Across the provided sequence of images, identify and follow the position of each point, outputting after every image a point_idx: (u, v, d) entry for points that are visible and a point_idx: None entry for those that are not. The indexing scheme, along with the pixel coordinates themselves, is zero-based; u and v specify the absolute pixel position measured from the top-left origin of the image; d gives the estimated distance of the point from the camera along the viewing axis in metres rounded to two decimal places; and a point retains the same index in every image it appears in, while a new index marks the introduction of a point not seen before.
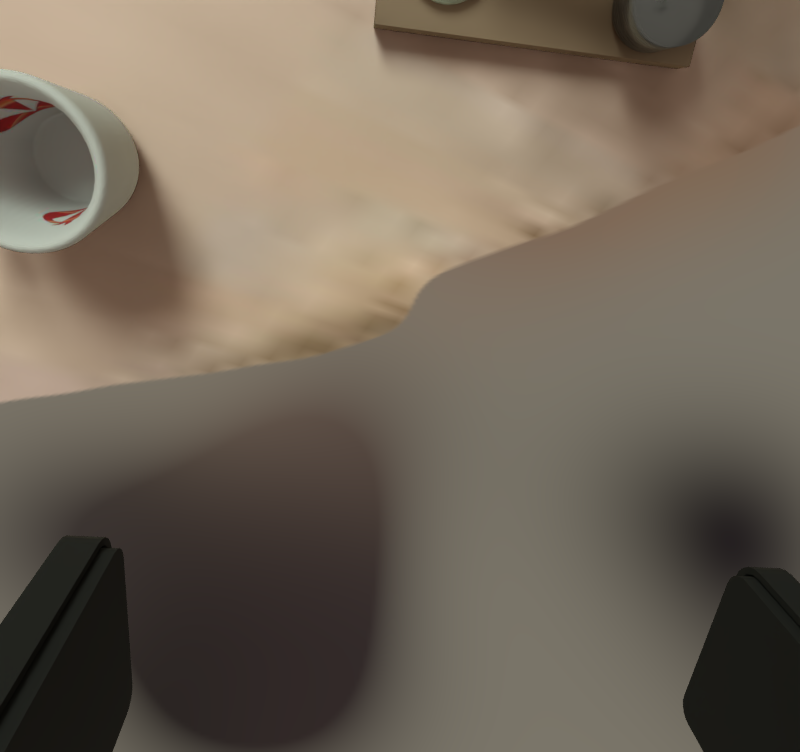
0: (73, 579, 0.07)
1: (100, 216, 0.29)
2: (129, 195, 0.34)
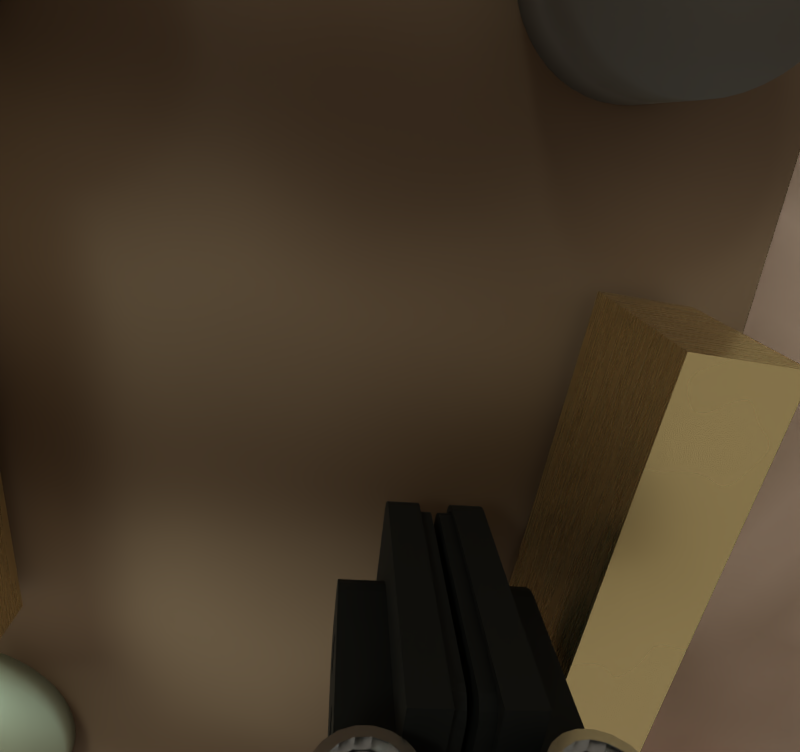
0: (420, 534, 0.09)
1: None
2: None
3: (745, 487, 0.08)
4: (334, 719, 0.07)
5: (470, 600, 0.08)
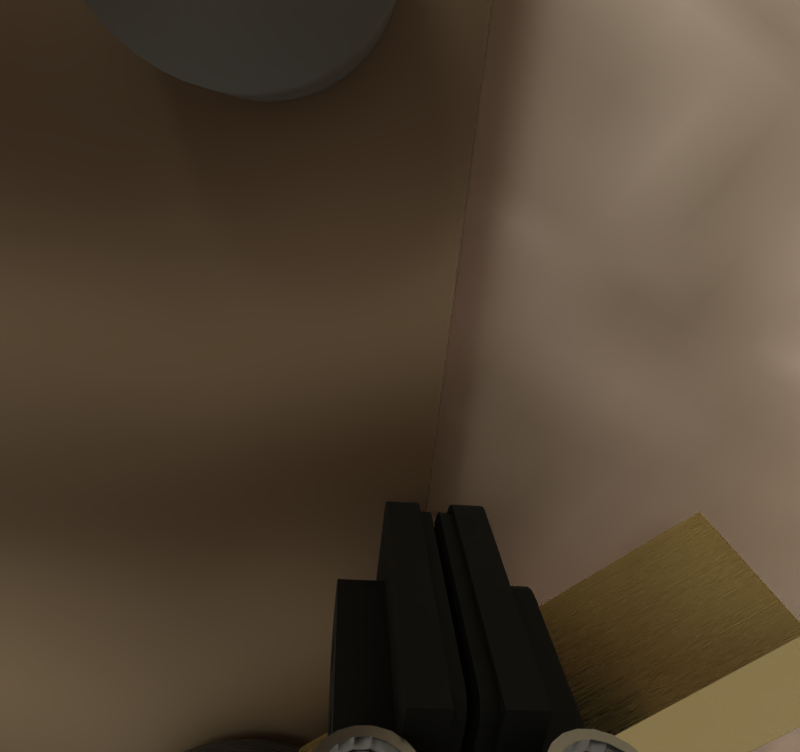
0: (420, 534, 0.09)
1: None
2: None
3: (740, 746, 0.09)
4: (334, 719, 0.07)
5: (471, 600, 0.08)
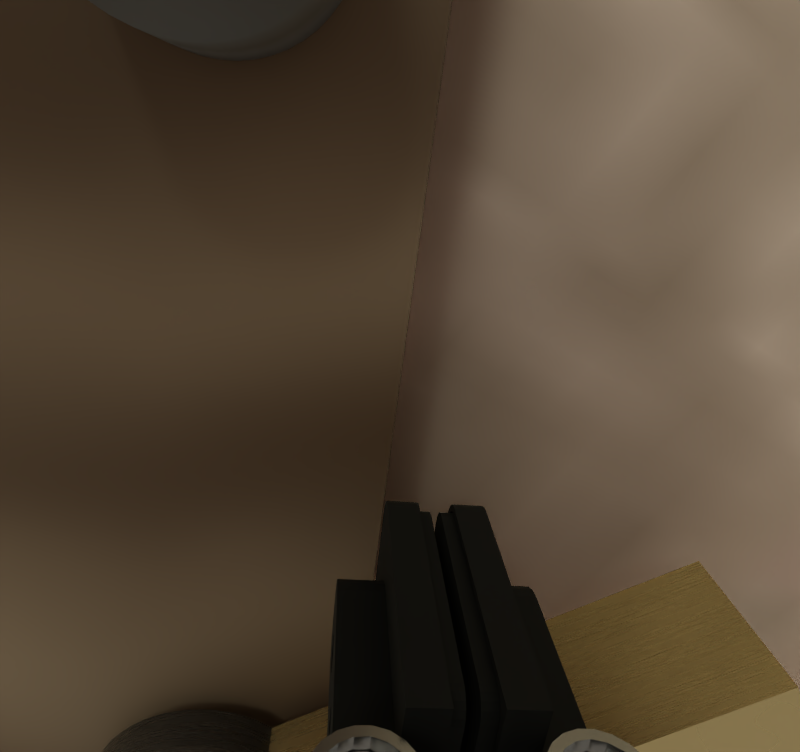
0: (419, 533, 0.09)
1: None
2: None
3: None
4: (333, 719, 0.07)
5: (472, 599, 0.08)
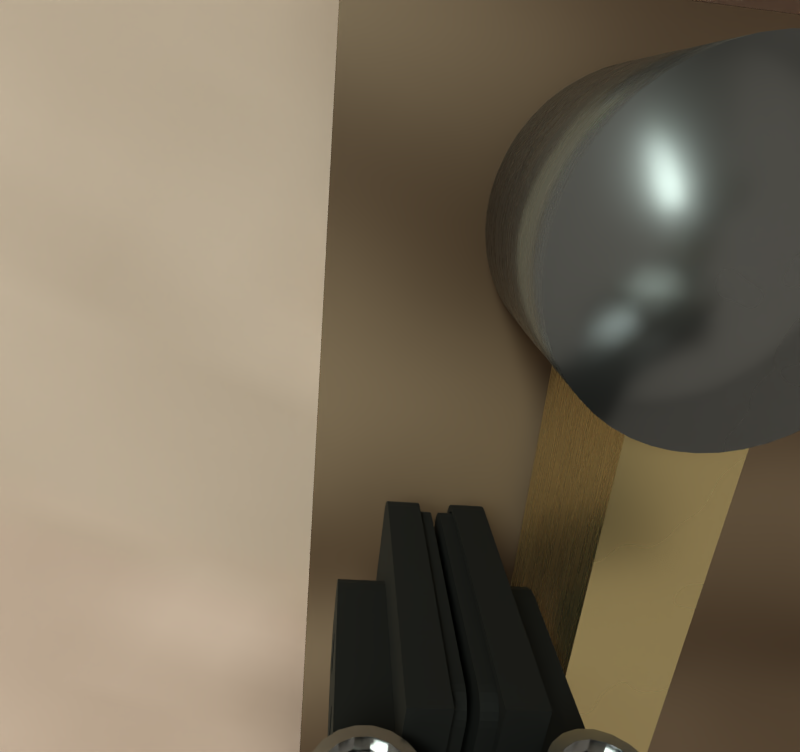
0: (420, 534, 0.09)
1: None
2: None
3: None
4: (334, 719, 0.07)
5: (471, 600, 0.08)
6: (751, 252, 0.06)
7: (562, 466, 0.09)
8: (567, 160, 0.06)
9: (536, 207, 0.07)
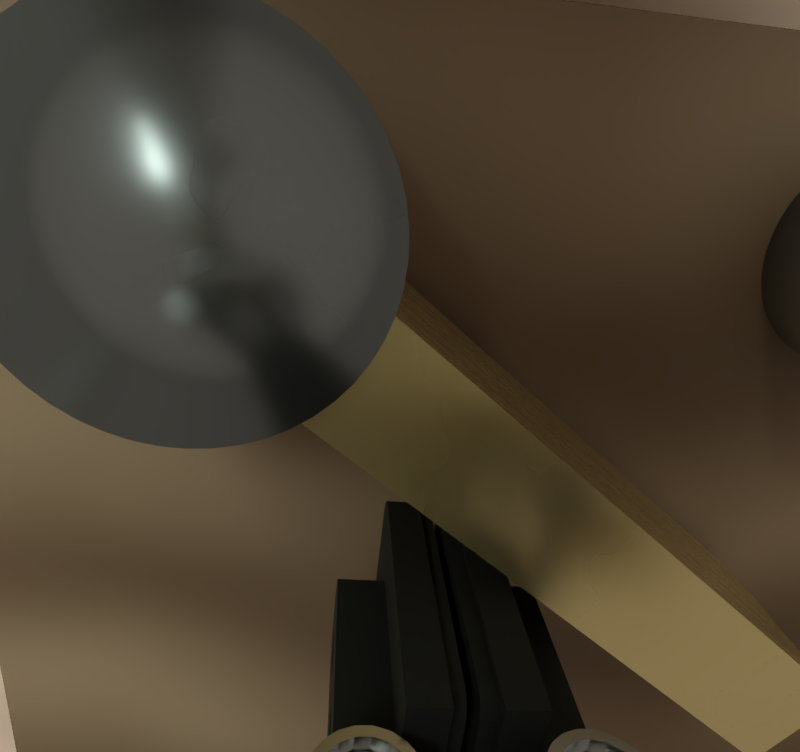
0: (420, 534, 0.09)
1: None
2: None
3: None
4: (334, 719, 0.07)
5: (471, 600, 0.08)
6: (158, 234, 0.06)
7: None
8: None
9: None
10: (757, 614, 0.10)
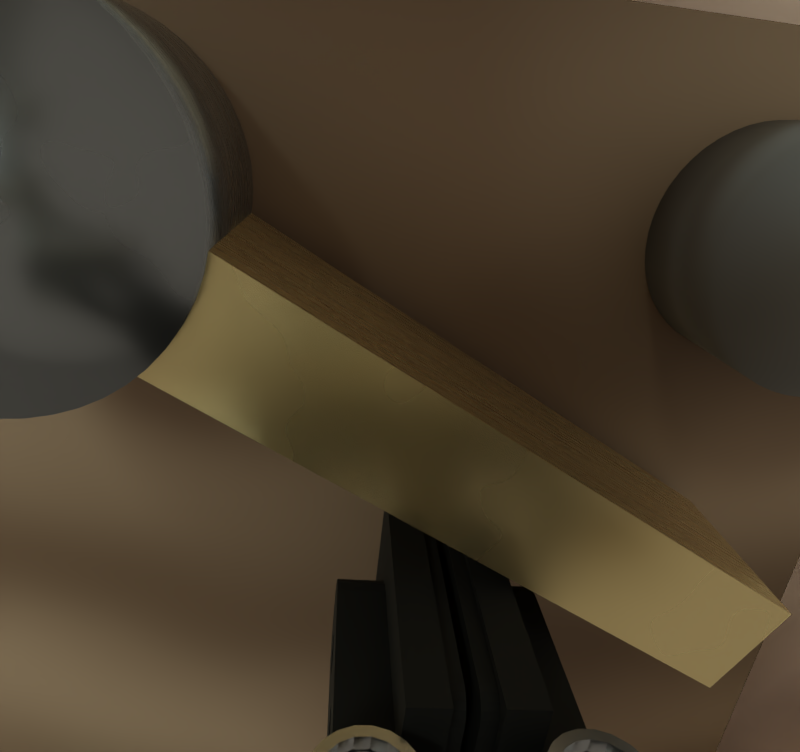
0: (419, 534, 0.09)
1: None
2: None
3: None
4: (333, 719, 0.07)
5: (472, 599, 0.08)
6: None
7: None
8: None
9: None
10: (698, 534, 0.09)
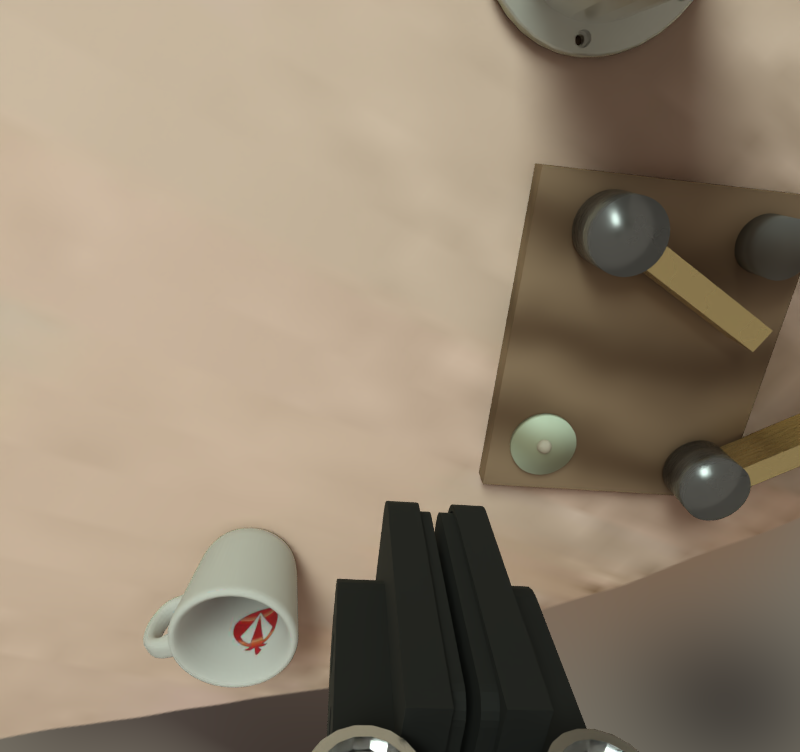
0: (419, 533, 0.09)
1: (288, 662, 0.39)
2: None
3: None
4: (333, 719, 0.07)
5: (472, 599, 0.08)
6: (627, 235, 0.33)
7: (651, 276, 0.36)
8: (591, 257, 0.34)
9: (594, 263, 0.34)
10: None
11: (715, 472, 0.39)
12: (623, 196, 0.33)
